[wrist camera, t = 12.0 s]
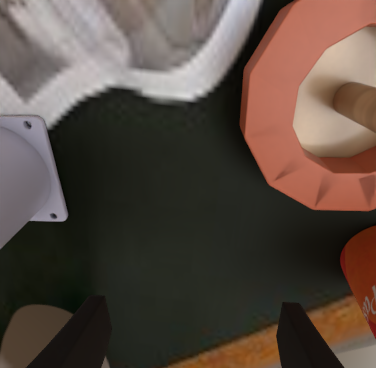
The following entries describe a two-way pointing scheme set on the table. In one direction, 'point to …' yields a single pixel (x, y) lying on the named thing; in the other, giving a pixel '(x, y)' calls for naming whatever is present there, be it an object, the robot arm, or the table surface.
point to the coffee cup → (362, 271)
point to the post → (340, 99)
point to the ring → (286, 103)
